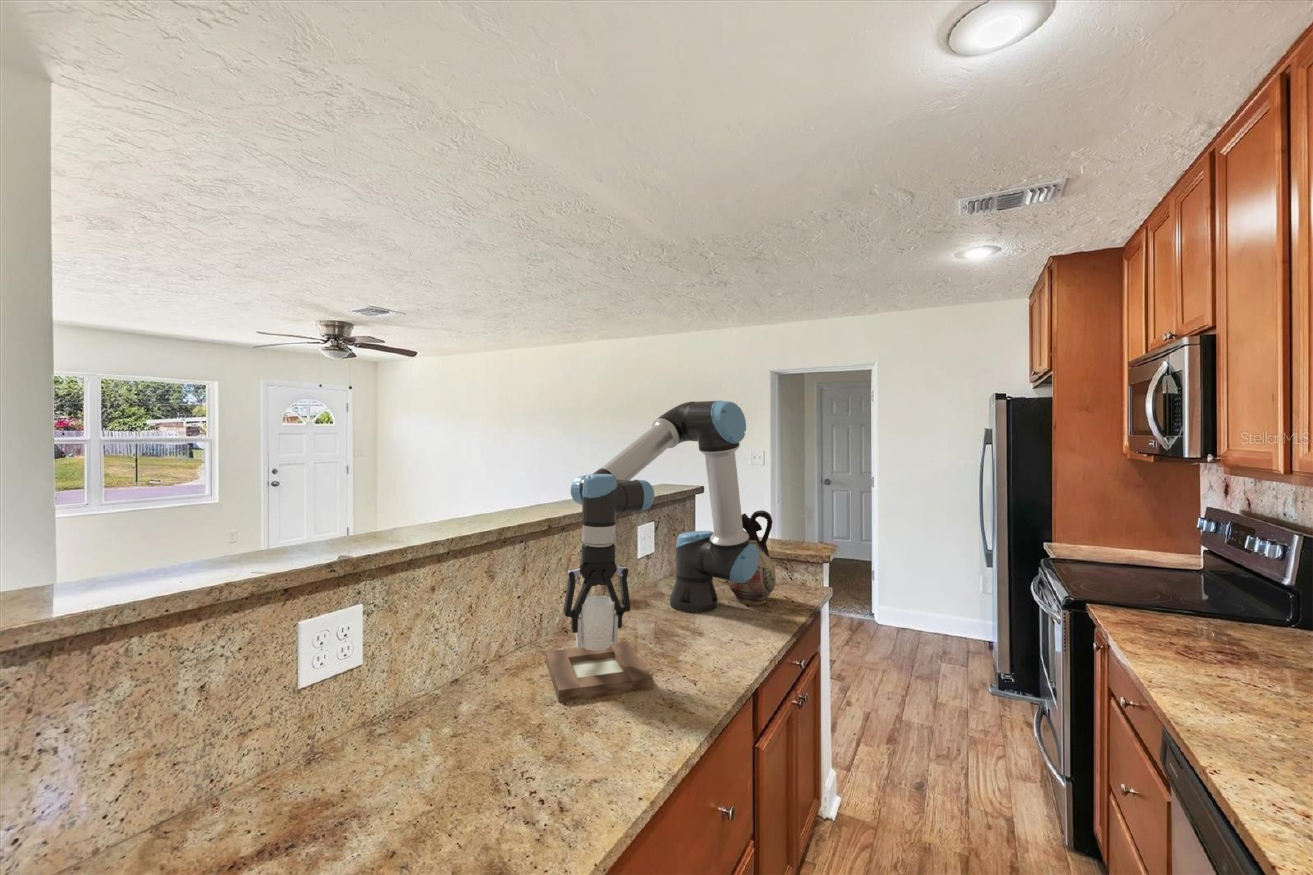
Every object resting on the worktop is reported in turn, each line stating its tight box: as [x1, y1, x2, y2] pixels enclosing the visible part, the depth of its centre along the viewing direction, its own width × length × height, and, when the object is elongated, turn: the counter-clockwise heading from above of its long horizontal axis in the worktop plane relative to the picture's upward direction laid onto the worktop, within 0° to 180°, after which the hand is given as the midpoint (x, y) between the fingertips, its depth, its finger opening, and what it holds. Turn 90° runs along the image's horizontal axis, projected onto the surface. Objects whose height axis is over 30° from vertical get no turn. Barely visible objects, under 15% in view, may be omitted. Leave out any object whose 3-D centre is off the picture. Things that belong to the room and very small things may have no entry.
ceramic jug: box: [727, 509, 777, 606], centre depth 178 cm, size 17×15×30 cm
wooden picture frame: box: [545, 642, 654, 703], centre depth 124 cm, size 20×20×2 cm
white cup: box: [579, 595, 615, 651], centre depth 124 cm, size 8×8×10 cm
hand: (596, 644), depth 124 cm, fingers closed on white cup, 7 cm apart
